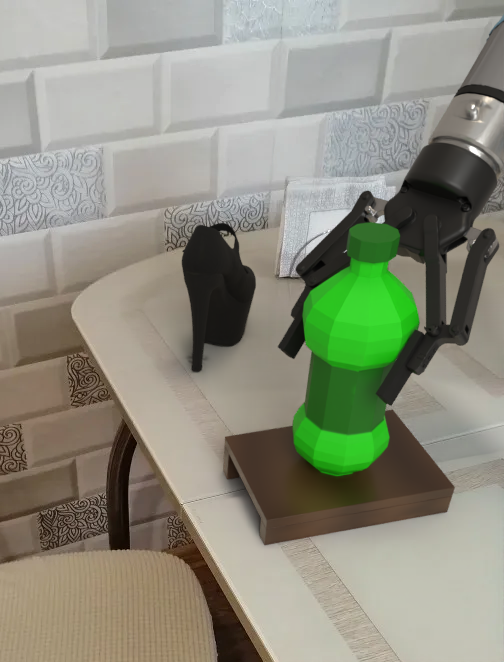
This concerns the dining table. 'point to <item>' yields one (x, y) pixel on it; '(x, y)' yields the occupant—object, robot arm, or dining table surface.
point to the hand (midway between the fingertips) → (332, 375)
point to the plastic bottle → (353, 354)
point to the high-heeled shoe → (216, 289)
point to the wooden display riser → (334, 484)
